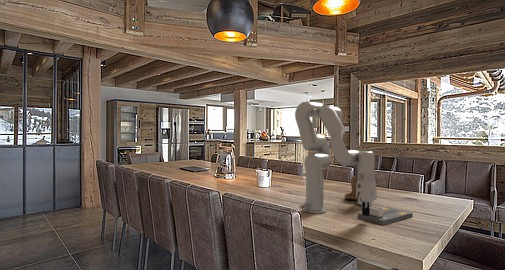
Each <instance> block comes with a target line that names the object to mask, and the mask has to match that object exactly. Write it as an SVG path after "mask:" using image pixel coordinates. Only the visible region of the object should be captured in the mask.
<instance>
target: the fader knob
mask: <svg viewBox="0 0 505 270" xmlns="http://www.w3.org/2000/svg"><path fill="white" fill-rule="evenodd" d="M370 215H373V216H377V217H381V216H384V207H378V206H375V205H371V206H370Z"/></svg>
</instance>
